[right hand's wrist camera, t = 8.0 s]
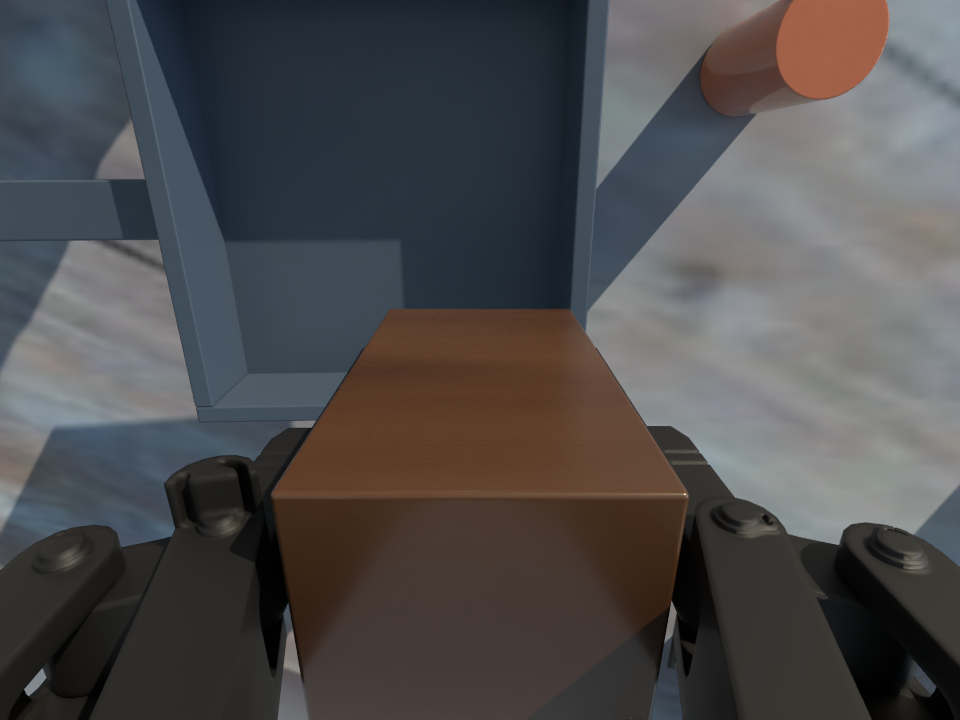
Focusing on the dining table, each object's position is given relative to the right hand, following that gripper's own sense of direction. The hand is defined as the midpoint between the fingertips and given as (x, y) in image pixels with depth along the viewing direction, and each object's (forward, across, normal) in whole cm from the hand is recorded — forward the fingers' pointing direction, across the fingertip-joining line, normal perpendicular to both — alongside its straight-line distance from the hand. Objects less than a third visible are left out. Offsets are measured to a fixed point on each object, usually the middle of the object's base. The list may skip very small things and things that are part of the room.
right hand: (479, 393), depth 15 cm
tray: (+12, +12, -4) cm, 17 cm away
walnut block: (0, 0, 0) cm, 0 cm away
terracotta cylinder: (+22, -16, -11) cm, 29 cm away
